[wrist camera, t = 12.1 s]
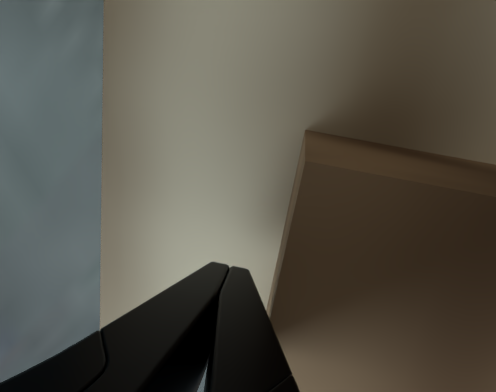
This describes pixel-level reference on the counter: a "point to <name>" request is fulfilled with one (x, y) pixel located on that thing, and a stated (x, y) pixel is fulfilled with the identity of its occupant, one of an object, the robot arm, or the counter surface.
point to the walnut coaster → (387, 270)
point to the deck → (266, 118)
